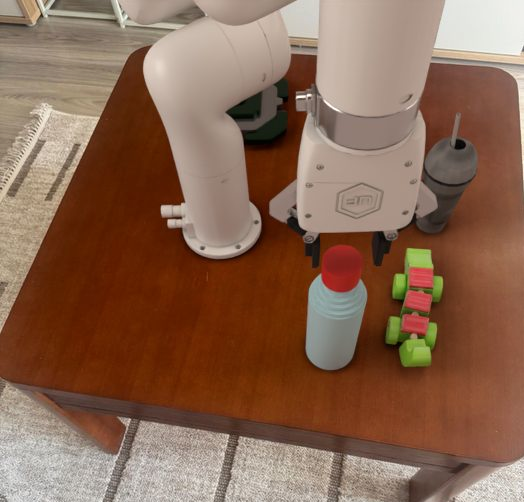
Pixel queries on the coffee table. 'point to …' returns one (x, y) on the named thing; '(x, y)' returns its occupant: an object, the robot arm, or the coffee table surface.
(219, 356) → the coffee table surface
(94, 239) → the coffee table surface
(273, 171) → the coffee table surface
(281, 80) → the four-lobed dark green device
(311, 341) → the bottle
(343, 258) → the cap
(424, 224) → the beverage cup
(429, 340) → the toy crocodile
